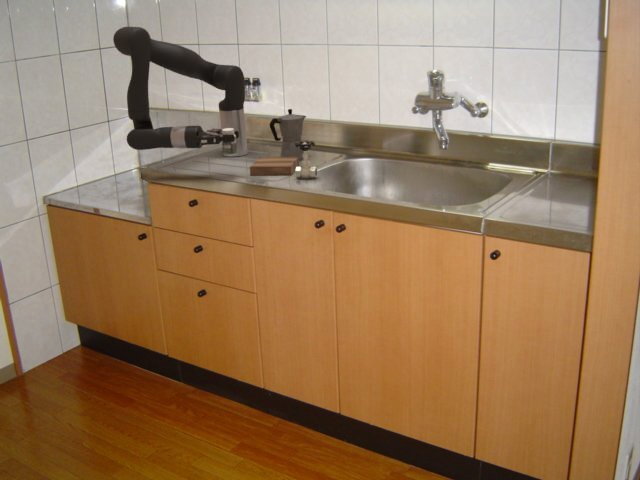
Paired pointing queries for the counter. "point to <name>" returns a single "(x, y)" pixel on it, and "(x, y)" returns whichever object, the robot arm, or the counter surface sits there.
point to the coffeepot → (289, 133)
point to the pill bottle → (229, 143)
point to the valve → (305, 162)
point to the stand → (274, 166)
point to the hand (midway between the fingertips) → (236, 136)
